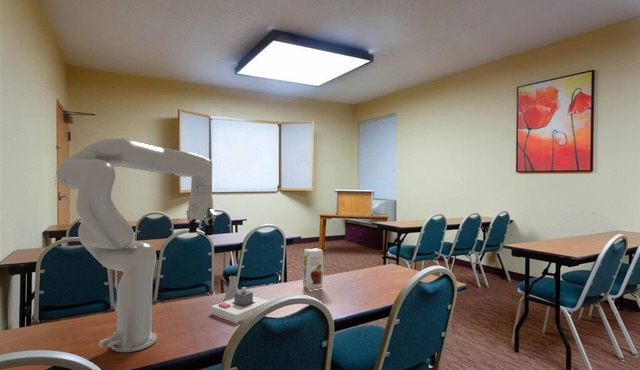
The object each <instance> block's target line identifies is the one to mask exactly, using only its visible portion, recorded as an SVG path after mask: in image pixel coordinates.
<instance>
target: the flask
mask: <svg viewBox="0 0 640 370" xmlns="http://www.w3.org/2000/svg"><path fill="white" fill-rule="evenodd" d="M228 279H229V283H228V288H227V291H226V293H225V296H224V298H223V301H222V302H225V301H227V300H230V299H233V298H234V297H235V293H237V292H239V288H238V285H237V279H238V276H235V275H234V276H232V275H231V276H229V277H228Z"/></svg>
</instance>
